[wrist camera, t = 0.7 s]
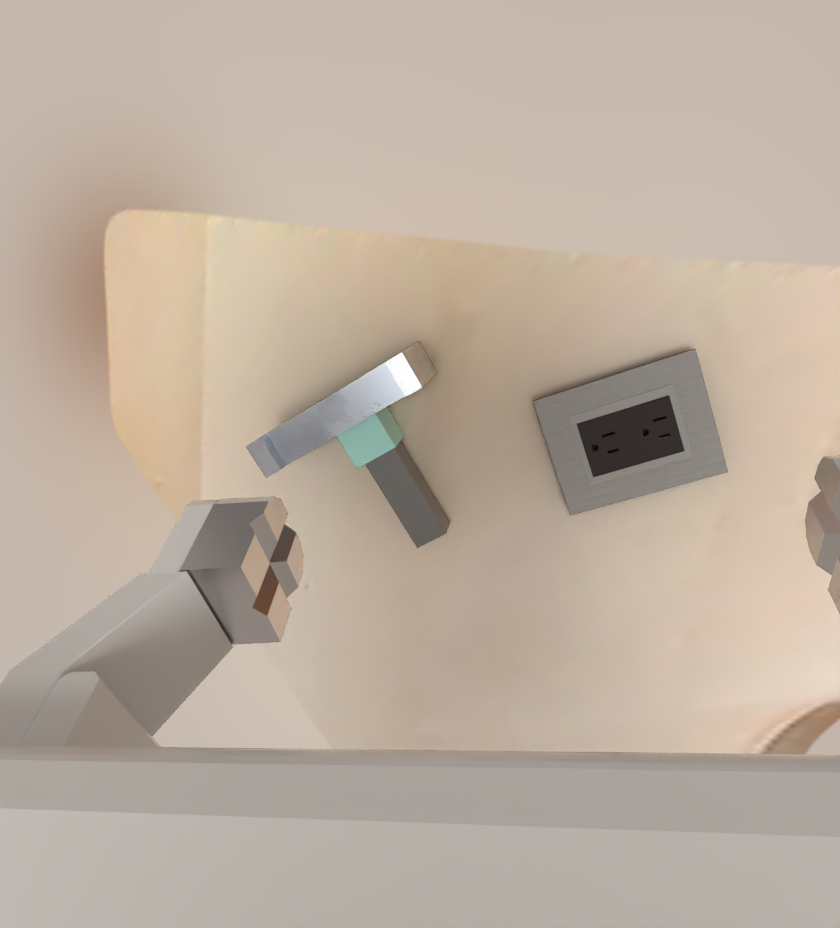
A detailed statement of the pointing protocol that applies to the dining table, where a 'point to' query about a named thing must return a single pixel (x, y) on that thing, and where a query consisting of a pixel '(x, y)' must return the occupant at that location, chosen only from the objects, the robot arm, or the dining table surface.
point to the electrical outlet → (632, 433)
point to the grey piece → (343, 409)
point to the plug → (396, 475)
